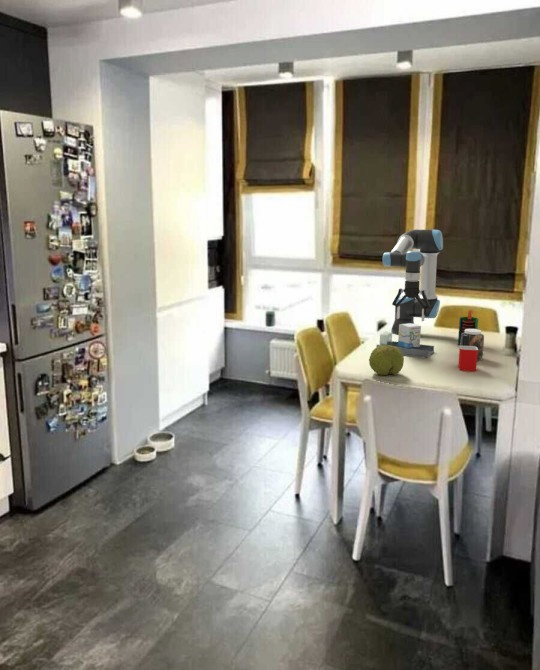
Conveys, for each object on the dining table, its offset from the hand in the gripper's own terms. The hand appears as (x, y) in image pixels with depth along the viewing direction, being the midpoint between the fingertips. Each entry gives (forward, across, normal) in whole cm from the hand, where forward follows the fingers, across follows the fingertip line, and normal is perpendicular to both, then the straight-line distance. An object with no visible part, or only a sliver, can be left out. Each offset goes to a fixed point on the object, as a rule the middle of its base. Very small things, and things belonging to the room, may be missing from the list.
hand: (410, 319), depth 310 cm
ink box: (+15, 0, -1) cm, 15 cm away
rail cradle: (+18, -2, -1) cm, 18 cm away
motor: (+19, +24, +34) cm, 46 cm away
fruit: (+18, +3, -48) cm, 51 cm away
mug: (+18, +34, -18) cm, 42 cm away
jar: (+18, +32, +3) cm, 37 cm away
